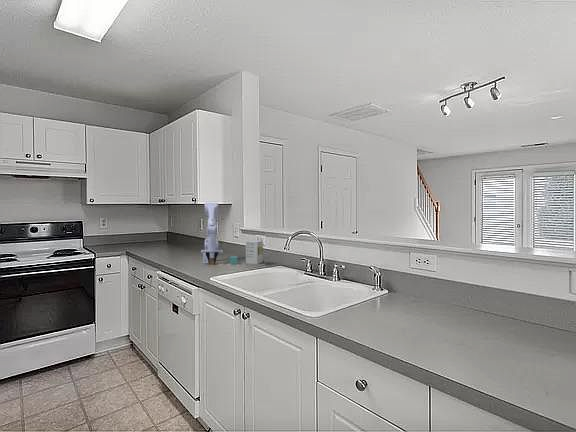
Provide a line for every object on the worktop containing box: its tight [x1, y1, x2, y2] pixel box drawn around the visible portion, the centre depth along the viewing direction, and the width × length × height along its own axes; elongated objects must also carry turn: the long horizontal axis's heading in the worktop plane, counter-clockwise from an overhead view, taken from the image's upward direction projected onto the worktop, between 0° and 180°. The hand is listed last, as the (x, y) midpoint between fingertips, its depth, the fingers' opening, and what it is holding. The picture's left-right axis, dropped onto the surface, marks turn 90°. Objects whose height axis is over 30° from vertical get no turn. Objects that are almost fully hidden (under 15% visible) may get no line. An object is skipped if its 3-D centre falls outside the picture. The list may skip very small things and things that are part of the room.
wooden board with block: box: [208, 258, 240, 266], centre depth 233 cm, size 20×8×5 cm, turn 96°
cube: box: [229, 255, 238, 266], centre depth 234 cm, size 5×5×5 cm
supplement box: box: [245, 240, 264, 265], centre depth 240 cm, size 10×9×17 cm
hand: (212, 263), depth 232 cm, fingers closed on wooden board with block, 3 cm apart
